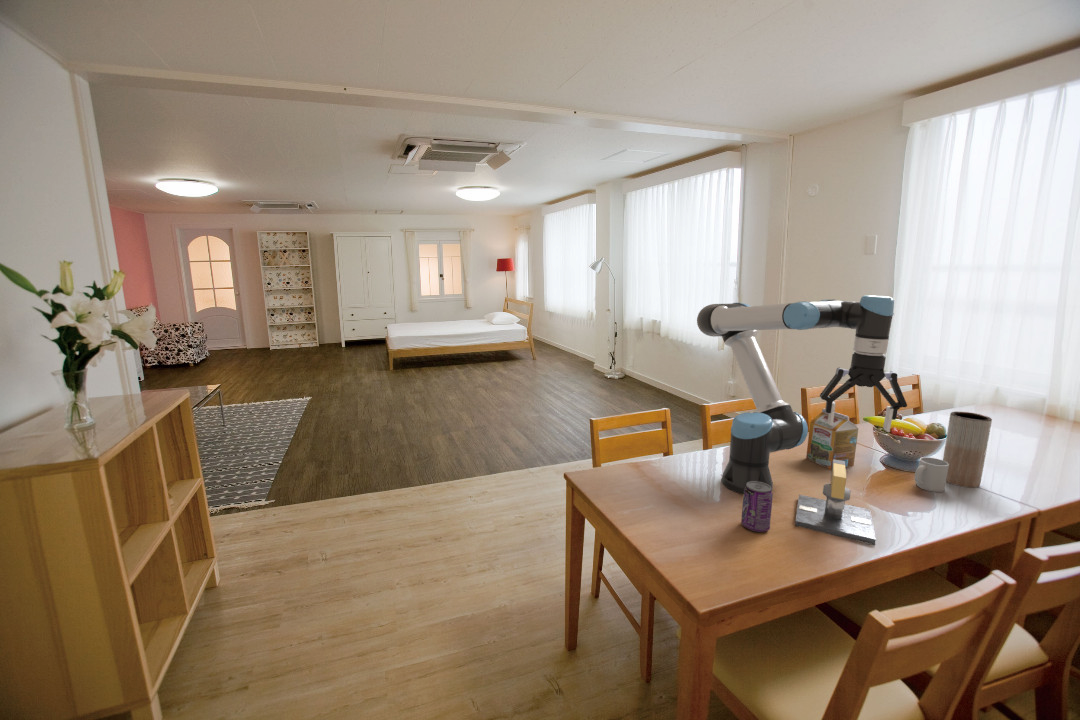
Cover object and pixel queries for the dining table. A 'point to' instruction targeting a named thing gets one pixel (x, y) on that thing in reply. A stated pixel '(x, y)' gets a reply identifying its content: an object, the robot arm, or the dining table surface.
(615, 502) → the dining table surface
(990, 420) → the planter
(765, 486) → the beverage can
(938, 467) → the grey cup
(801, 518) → the post base
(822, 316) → the robot arm
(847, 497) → the handle
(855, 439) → the milk carton
